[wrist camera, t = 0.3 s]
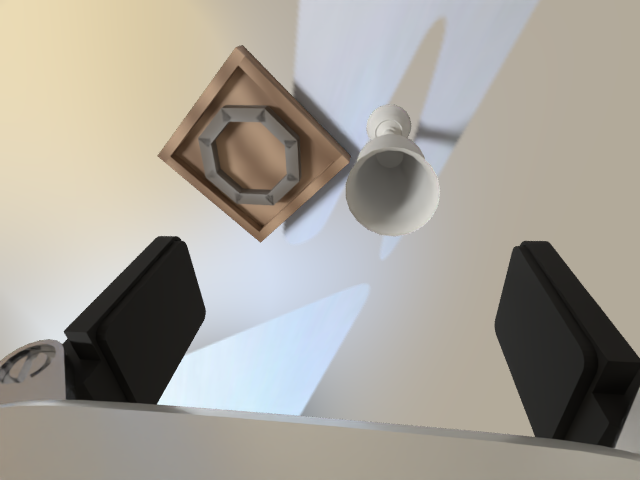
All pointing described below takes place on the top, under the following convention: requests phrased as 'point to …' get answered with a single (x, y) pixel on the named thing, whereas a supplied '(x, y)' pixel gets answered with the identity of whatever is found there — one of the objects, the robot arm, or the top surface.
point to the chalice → (391, 177)
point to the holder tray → (253, 147)
